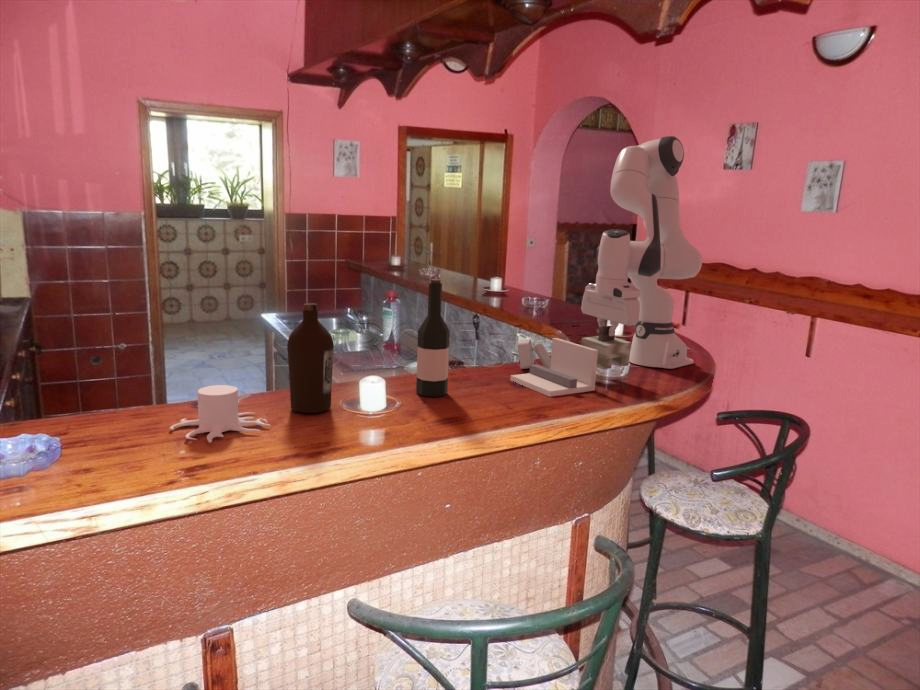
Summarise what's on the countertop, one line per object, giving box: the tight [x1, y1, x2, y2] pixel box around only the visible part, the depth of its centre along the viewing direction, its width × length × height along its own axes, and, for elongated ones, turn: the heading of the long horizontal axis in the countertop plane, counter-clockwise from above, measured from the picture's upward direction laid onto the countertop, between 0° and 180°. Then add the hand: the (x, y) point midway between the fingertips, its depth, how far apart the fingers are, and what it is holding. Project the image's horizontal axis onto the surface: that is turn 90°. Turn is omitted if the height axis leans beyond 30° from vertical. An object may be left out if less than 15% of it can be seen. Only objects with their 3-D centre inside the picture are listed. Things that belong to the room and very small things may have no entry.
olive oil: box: [286, 302, 335, 414], centre depth 153 cm, size 11×11×25 cm
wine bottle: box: [415, 278, 450, 398], centre depth 169 cm, size 8×8×30 cm
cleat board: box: [510, 337, 598, 398], centre depth 183 cm, size 16×18×12 cm
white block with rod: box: [517, 338, 551, 370], centre depth 201 cm, size 8×10×10 cm
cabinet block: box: [580, 325, 632, 371], centre depth 190 cm, size 10×10×11 cm
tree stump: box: [169, 384, 271, 444], centre depth 141 cm, size 20×19×8 cm
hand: (606, 334), depth 189 cm, fingers closed on cabinet block, 2 cm apart
